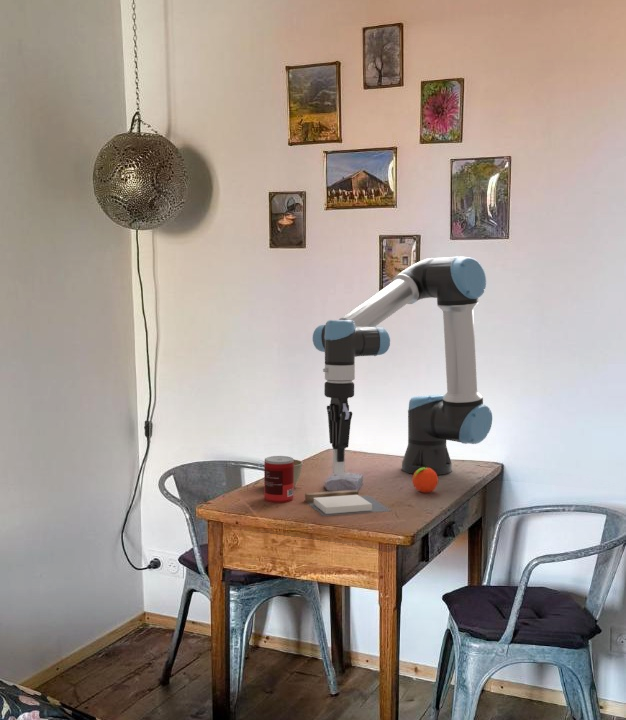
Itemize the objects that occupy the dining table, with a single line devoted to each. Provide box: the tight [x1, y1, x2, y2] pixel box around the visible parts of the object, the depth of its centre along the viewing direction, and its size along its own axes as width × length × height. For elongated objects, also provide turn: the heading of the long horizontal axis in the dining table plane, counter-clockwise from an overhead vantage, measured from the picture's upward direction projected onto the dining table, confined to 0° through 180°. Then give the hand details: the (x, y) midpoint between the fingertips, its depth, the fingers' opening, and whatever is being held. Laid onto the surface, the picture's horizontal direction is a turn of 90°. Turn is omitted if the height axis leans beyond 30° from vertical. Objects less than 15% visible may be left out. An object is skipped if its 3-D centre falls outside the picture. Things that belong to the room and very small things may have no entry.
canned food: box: [263, 455, 295, 504], centre depth 217 cm, size 8×8×11 cm
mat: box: [307, 495, 393, 517], centre depth 211 cm, size 18×16×1 cm
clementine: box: [412, 467, 439, 494], centre depth 226 cm, size 8×7×7 cm
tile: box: [314, 494, 372, 514], centre depth 208 cm, size 12×2×10 cm
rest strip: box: [304, 490, 360, 504], centre depth 216 cm, size 14×2×2 cm, turn 107°
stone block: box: [324, 472, 364, 492], centre depth 231 cm, size 12×5×10 cm
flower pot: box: [293, 458, 303, 487], centre depth 231 cm, size 10×10×7 cm
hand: (338, 473), depth 211 cm, fingers closed
